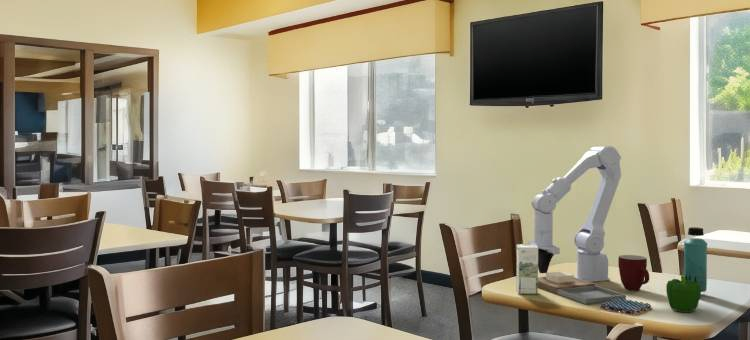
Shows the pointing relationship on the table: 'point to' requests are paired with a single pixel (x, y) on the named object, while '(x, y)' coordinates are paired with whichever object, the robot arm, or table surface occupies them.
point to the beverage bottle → (695, 258)
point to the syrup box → (527, 269)
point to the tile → (560, 277)
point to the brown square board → (561, 284)
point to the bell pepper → (683, 294)
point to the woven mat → (625, 306)
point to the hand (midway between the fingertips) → (543, 272)
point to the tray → (590, 294)
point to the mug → (633, 271)
